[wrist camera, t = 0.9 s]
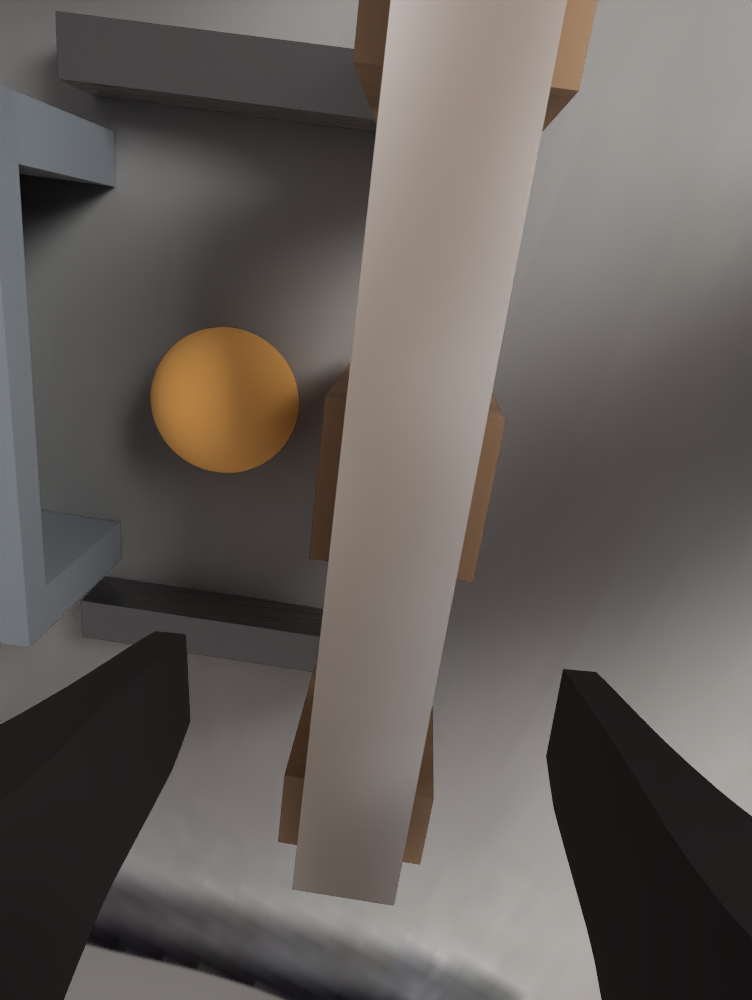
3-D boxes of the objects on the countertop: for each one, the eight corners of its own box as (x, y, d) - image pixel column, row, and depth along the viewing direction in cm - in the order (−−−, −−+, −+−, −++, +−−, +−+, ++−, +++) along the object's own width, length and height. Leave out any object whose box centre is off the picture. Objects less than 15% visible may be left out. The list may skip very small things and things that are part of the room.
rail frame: (504, 87, 14) (512, 68, 13) (407, 655, 20) (406, 685, 18) (90, 34, 15) (55, 11, 13) (106, 610, 20) (82, 636, 19)
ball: (283, 302, 16) (246, 313, 13) (327, 430, 18) (304, 468, 14) (161, 344, 17) (97, 363, 14) (211, 465, 18) (164, 509, 15)
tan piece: (534, 64, 14) (638, -126, 7) (422, 682, 19) (419, 909, 12) (394, 47, 14) (361, -159, 7) (322, 667, 19) (267, 884, 13)
